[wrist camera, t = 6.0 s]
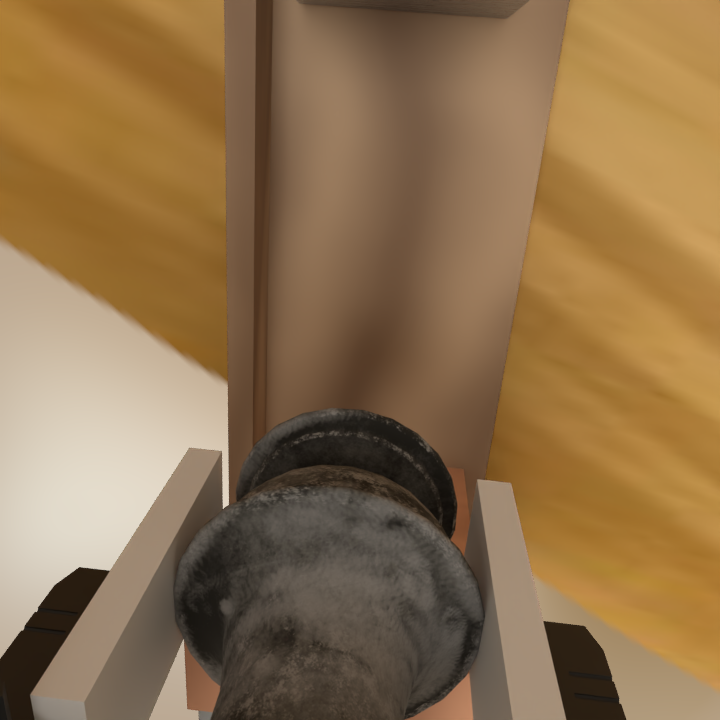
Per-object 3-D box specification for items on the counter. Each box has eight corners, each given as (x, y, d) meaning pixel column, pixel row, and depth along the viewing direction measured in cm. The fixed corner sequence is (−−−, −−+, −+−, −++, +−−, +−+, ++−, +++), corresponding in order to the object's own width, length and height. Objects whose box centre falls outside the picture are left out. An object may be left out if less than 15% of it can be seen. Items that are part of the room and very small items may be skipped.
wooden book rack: (250, 543, 33) (162, 784, 22) (256, -256, 21) (51, -693, 9) (463, 568, 33) (487, 827, 21) (602, -237, 20) (850, -677, 9)
